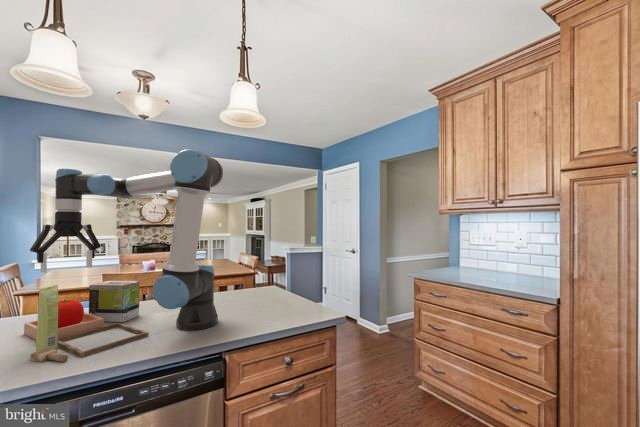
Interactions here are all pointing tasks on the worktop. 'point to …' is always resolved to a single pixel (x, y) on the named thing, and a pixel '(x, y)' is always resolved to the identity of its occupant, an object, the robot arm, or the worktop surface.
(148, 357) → the worktop surface
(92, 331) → the rim
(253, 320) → the worktop surface
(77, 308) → the tomato
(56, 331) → the tube
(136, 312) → the tea box
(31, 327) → the brown wooden flat box
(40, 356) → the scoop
